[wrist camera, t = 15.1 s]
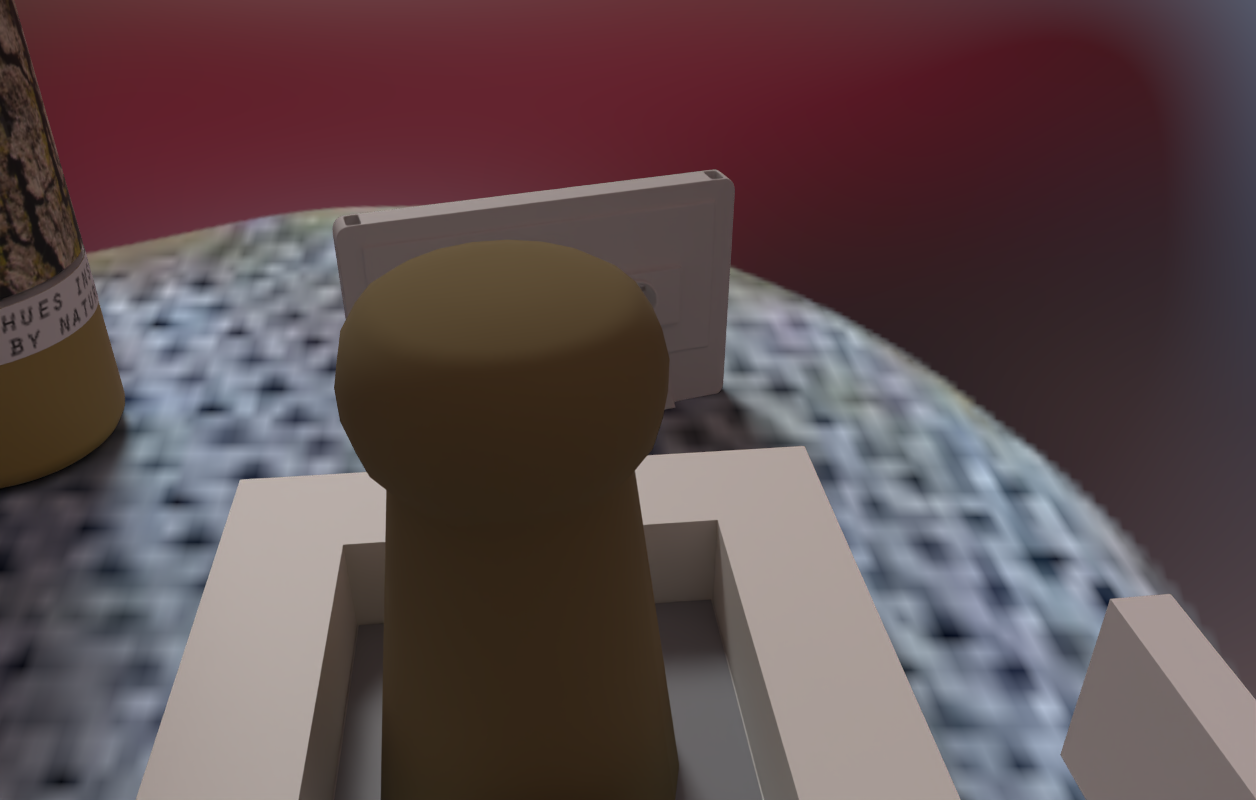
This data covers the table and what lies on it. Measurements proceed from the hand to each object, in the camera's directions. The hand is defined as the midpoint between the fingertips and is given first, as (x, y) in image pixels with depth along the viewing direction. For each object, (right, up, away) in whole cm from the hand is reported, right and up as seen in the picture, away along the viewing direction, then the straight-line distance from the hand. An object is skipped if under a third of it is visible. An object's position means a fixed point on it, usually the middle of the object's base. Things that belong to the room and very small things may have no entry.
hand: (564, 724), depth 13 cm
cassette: (-2, +3, +23) cm, 23 cm away
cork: (-1, -4, +9) cm, 10 cm away
